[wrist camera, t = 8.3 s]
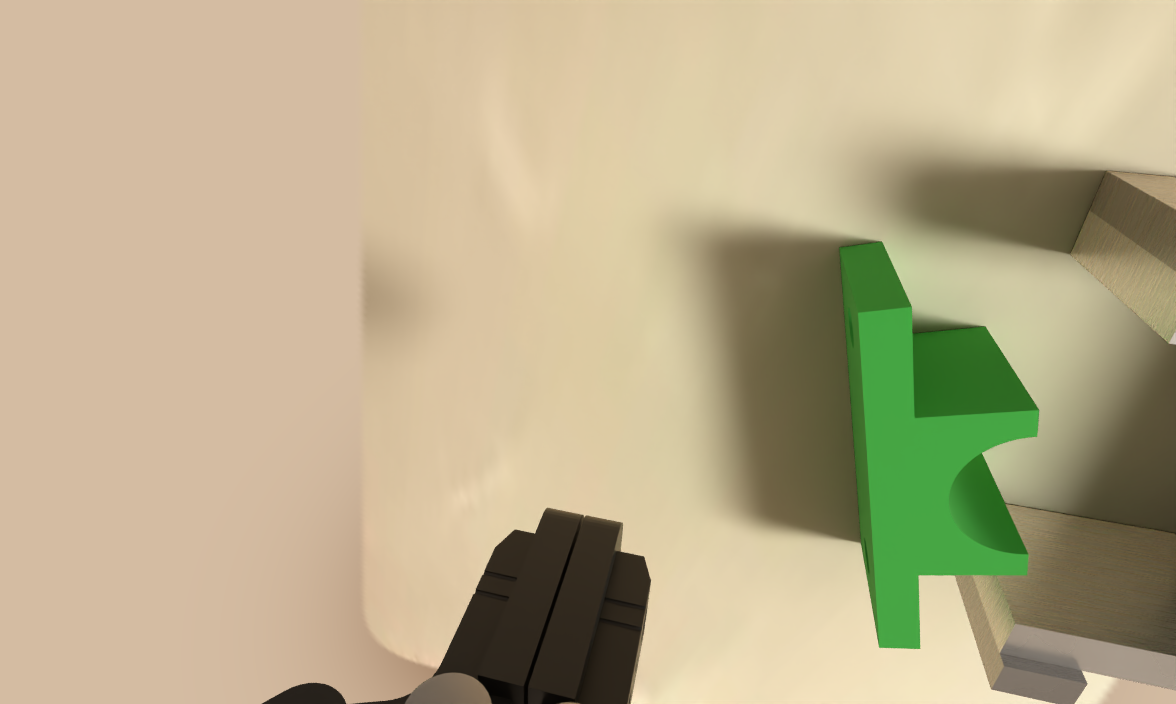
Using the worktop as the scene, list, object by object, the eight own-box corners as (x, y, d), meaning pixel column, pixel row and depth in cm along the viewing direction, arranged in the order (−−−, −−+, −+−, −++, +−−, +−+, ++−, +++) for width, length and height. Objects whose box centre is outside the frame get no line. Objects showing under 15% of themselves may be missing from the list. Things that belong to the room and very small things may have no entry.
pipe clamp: (977, 536, 23) (1022, 654, 19) (859, 537, 24) (878, 648, 20) (987, 222, 18) (1050, 294, 14) (838, 244, 19) (857, 315, 15)
